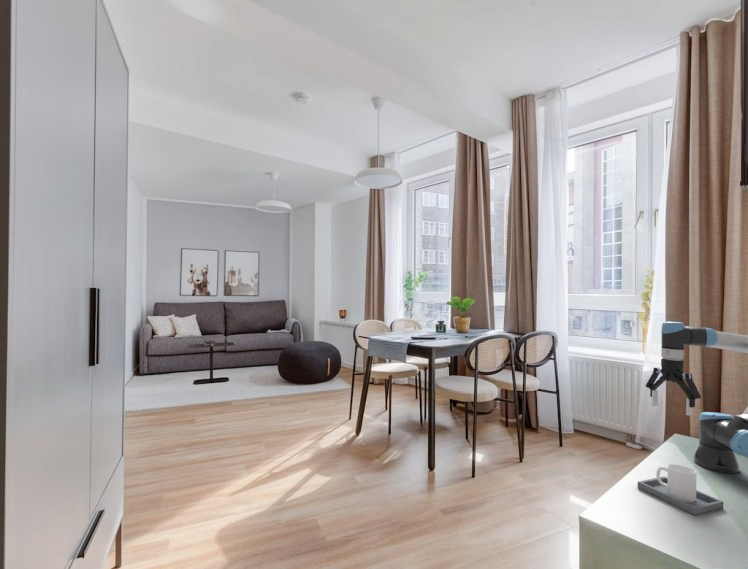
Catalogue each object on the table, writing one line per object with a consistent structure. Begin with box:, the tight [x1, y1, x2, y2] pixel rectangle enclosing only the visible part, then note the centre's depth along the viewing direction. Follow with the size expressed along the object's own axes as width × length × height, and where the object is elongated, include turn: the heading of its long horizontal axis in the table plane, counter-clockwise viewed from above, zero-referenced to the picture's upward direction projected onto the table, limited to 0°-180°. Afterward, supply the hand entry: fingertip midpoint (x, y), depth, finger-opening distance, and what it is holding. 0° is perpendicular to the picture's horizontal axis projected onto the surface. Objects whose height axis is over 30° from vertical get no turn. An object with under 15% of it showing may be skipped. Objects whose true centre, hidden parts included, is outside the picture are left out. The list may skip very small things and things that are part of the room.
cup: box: [656, 463, 697, 503], centre depth 147 cm, size 8×12×10 cm
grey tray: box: [637, 476, 725, 517], centre depth 145 cm, size 15×20×2 cm
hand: (671, 410), depth 165 cm, fingers open, 13 cm apart
